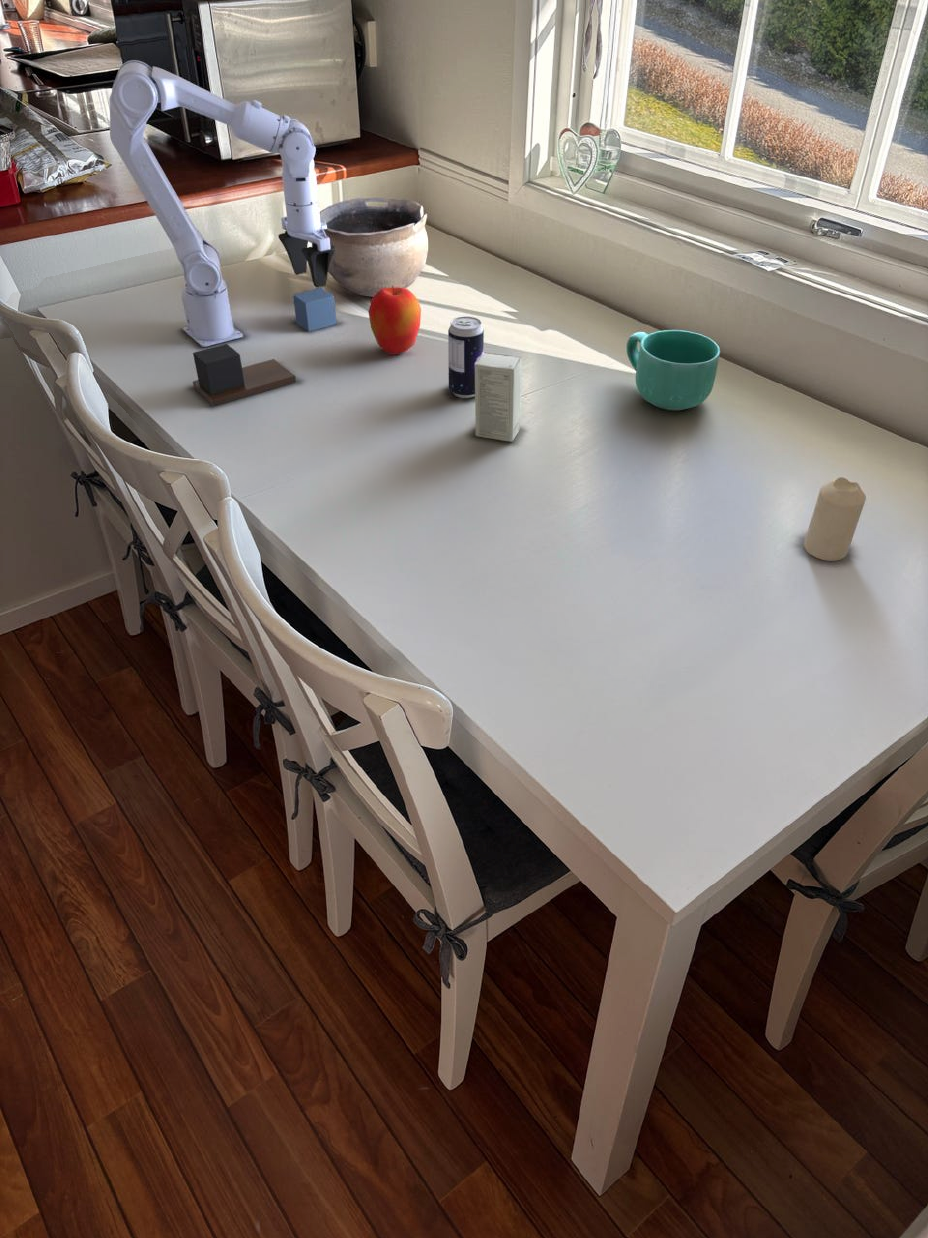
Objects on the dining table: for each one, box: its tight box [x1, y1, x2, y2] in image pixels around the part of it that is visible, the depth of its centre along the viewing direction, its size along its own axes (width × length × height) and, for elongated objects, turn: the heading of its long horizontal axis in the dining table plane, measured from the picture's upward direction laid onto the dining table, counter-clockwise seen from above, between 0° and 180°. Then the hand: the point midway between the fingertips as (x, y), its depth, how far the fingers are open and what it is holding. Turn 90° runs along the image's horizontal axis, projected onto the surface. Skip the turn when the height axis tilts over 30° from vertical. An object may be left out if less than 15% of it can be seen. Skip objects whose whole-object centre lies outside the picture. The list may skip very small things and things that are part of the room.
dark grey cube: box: [192, 343, 245, 395], centre depth 151 cm, size 5×6×6 cm
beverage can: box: [447, 316, 485, 399], centre depth 150 cm, size 6×6×12 cm
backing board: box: [192, 358, 297, 407], centre depth 155 cm, size 8×15×1 cm, turn 125°
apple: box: [368, 286, 422, 355], centre depth 162 cm, size 9×9×12 cm
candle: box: [803, 476, 867, 562], centre depth 118 cm, size 6×6×10 cm
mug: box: [625, 329, 721, 412], centre depth 150 cm, size 17×13×10 cm
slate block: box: [292, 287, 337, 333], centre depth 173 cm, size 6×5×6 cm
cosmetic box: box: [474, 351, 522, 443], centre depth 140 cm, size 6×4×12 cm
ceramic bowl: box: [319, 197, 429, 298], centre depth 183 cm, size 22×22×15 cm
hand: (310, 279), depth 168 cm, fingers open, 7 cm apart
